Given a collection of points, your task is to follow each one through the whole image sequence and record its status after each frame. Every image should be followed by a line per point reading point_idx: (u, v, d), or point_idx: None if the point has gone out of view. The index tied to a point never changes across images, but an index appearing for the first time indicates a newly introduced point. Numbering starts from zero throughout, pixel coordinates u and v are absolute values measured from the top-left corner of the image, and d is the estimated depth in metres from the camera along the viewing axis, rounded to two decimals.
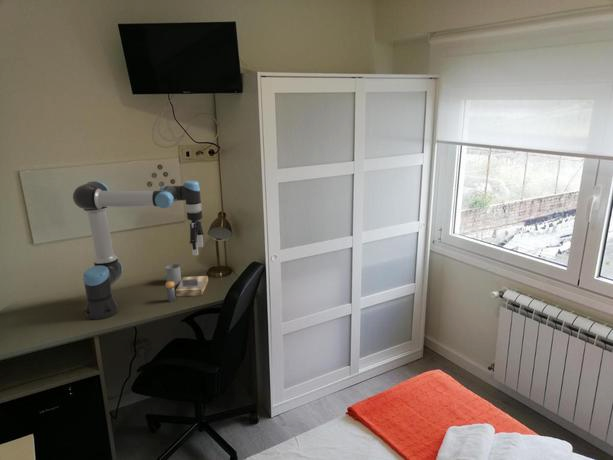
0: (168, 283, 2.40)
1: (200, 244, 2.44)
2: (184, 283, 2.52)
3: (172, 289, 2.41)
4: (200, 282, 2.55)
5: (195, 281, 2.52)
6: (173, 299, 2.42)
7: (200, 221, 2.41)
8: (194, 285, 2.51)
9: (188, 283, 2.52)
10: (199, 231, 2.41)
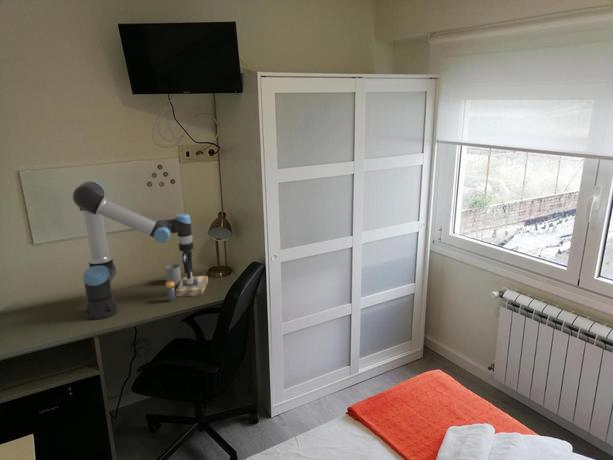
0: (168, 283, 2.40)
1: None
2: (184, 283, 2.52)
3: (172, 289, 2.41)
4: (200, 282, 2.55)
5: (195, 281, 2.52)
6: (173, 299, 2.42)
7: (191, 255, 2.53)
8: (194, 285, 2.51)
9: None
10: None
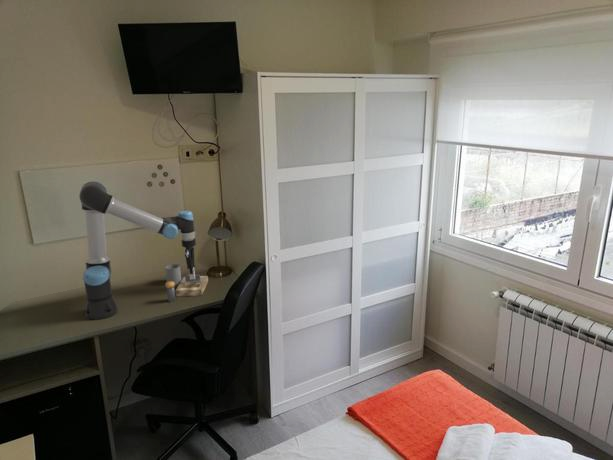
0: (168, 283, 2.40)
1: None
2: (187, 278, 2.59)
3: (172, 289, 2.41)
4: (202, 277, 2.62)
5: (197, 276, 2.59)
6: (173, 299, 2.42)
7: None
8: (196, 280, 2.58)
9: None
10: None
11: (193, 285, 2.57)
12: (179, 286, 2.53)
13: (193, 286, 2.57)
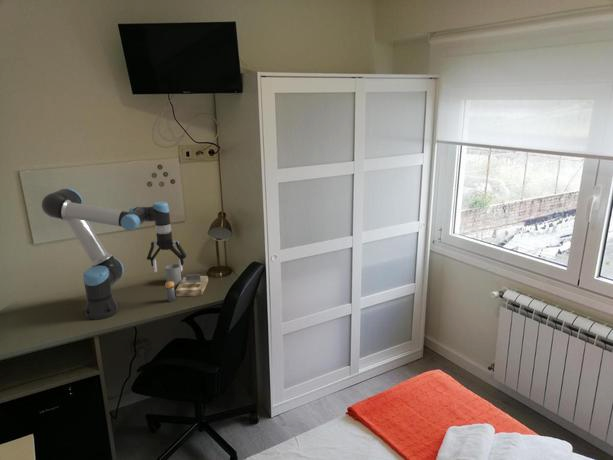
0: (168, 283, 2.40)
1: None
2: (187, 278, 2.59)
3: (172, 289, 2.40)
4: (202, 277, 2.62)
5: (198, 276, 2.59)
6: (173, 299, 2.42)
7: (178, 245, 2.34)
8: (197, 280, 2.58)
9: (191, 278, 2.59)
10: None
11: (193, 285, 2.57)
12: (179, 286, 2.53)
13: (193, 286, 2.57)
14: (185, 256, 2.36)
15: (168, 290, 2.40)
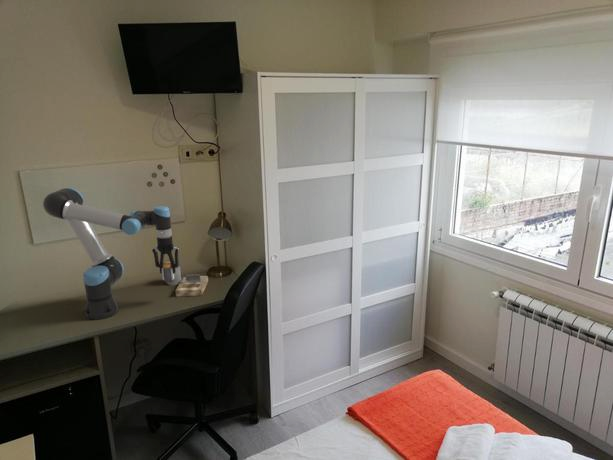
0: (165, 263, 2.38)
1: None
2: (187, 278, 2.59)
3: (169, 270, 2.38)
4: (202, 277, 2.62)
5: (198, 276, 2.59)
6: (170, 280, 2.39)
7: (176, 253, 2.35)
8: (197, 280, 2.58)
9: (191, 278, 2.59)
10: None
11: (193, 285, 2.57)
12: (179, 286, 2.53)
13: (193, 286, 2.57)
14: (177, 265, 2.37)
15: (165, 270, 2.37)
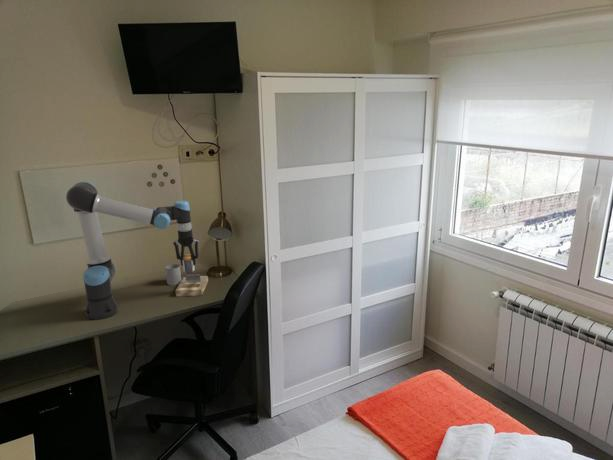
0: (186, 255, 2.48)
1: None
2: (187, 278, 2.59)
3: (190, 261, 2.48)
4: (202, 277, 2.62)
5: (198, 276, 2.59)
6: (191, 271, 2.50)
7: (196, 245, 2.46)
8: (197, 280, 2.58)
9: (191, 278, 2.59)
10: None
11: (193, 285, 2.57)
12: (179, 286, 2.53)
13: (193, 286, 2.57)
14: (197, 257, 2.48)
15: (186, 262, 2.48)
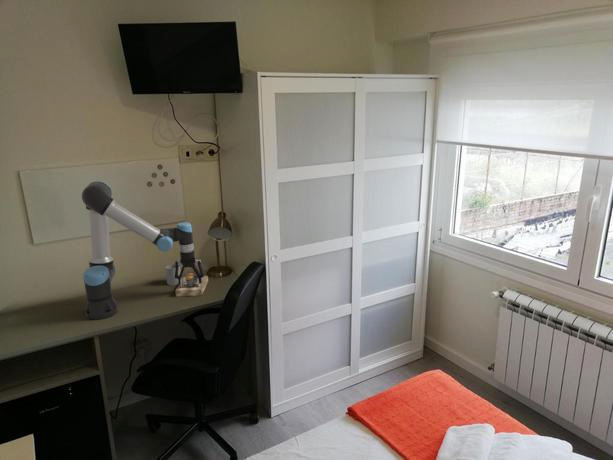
0: (188, 275, 2.51)
1: None
2: None
3: (191, 281, 2.51)
4: (202, 277, 2.62)
5: None
6: None
7: (199, 265, 2.49)
8: None
9: None
10: None
11: None
12: (179, 286, 2.53)
13: None
14: (203, 275, 2.51)
15: (188, 281, 2.51)
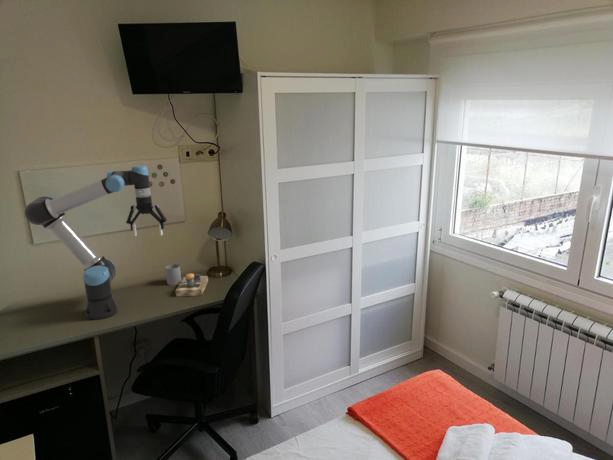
0: (188, 275, 2.51)
1: None
2: None
3: (192, 281, 2.51)
4: (202, 277, 2.62)
5: (198, 276, 2.59)
6: None
7: (158, 209, 2.35)
8: (197, 280, 2.58)
9: None
10: None
11: None
12: (179, 286, 2.53)
13: None
14: (165, 220, 2.37)
15: (188, 281, 2.51)
